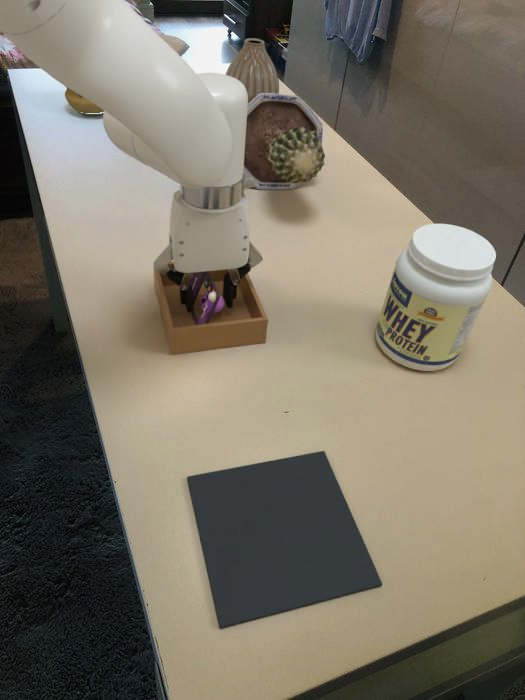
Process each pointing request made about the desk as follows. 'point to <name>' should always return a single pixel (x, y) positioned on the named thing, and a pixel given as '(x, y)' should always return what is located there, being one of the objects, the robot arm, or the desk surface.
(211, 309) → the purple toy figure
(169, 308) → the box
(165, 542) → the desk surface
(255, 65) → the vase
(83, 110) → the pot
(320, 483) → the mat
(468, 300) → the supplement tub
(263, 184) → the potted plant
